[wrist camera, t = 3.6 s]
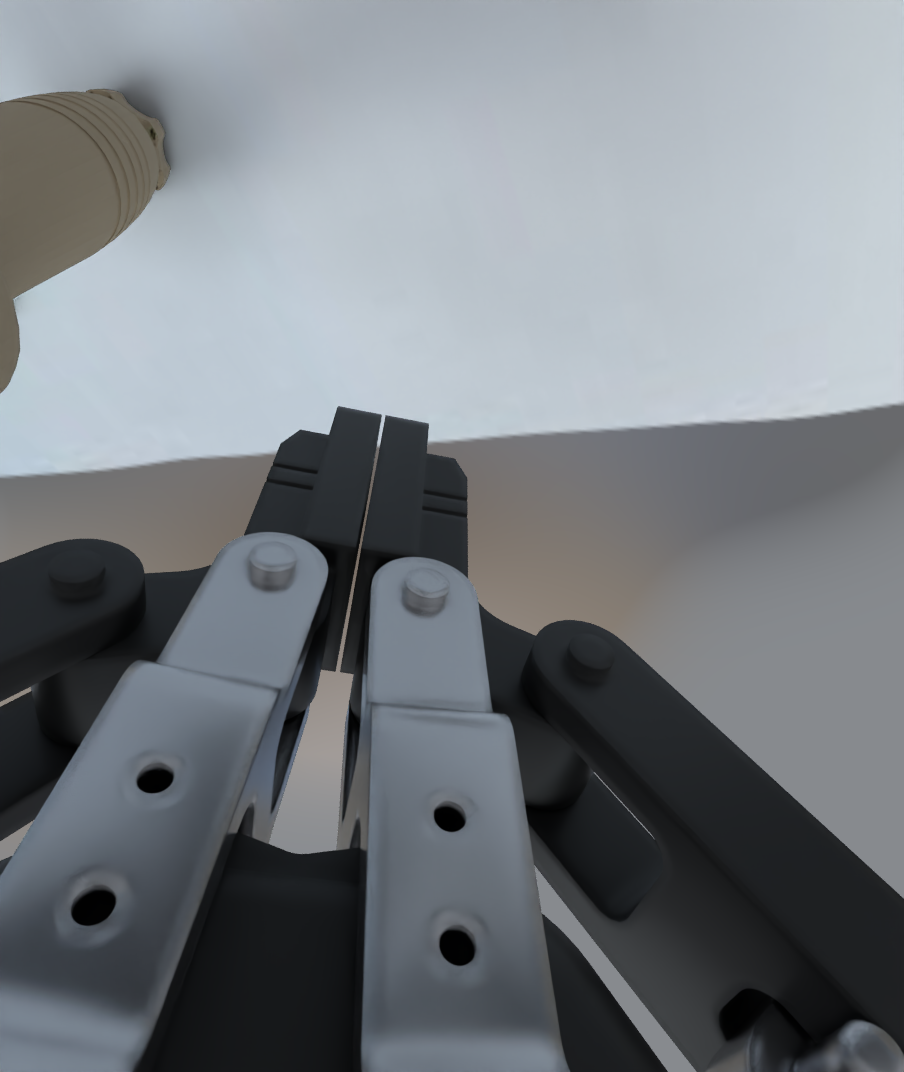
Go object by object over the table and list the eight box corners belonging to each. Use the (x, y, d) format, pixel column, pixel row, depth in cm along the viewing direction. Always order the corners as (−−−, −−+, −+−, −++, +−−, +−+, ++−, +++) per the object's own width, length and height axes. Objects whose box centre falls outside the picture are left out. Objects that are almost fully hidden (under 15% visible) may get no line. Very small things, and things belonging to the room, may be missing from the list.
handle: (230, 230, 25) (23, 450, 14) (45, 214, 25) (-332, 425, 13) (213, 67, 22) (-72, 167, 11) (3, 48, 22) (-529, 128, 10)
